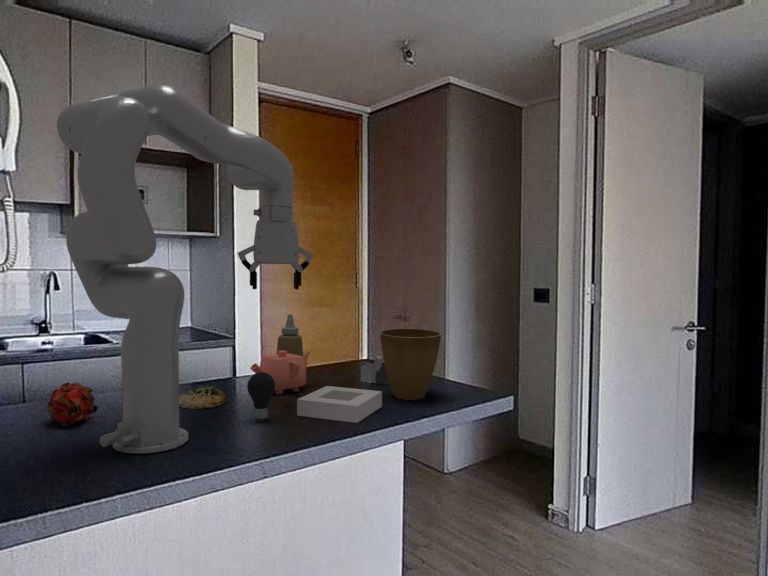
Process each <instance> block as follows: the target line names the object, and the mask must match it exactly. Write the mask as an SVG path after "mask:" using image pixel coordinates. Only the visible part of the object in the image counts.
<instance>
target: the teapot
mask: <svg viewBox="0 0 768 576" xmlns="http://www.w3.org/2000/svg"><path fill="white" fill-rule="evenodd" d="M312 352H313V350H307V351H305V352H303V357H302V356H299V355H294V354H289V353H287V351H278V354H277V353H275V354H269V355H263V356H261V359H260V363H259V365H258V363H254V364H252V365H251V366H250V371H253V373H254V374H256V373H259V372H265V373H268V374H269V375H271V377H272V378H273V379H274V382H275V390H274V395H284V390H290V389H291V391H292V392H300V391H301V390H300V387H304V386H305V385H306V383H307V366H308V359H309V356H310V354H311V353H312Z"/></svg>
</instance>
